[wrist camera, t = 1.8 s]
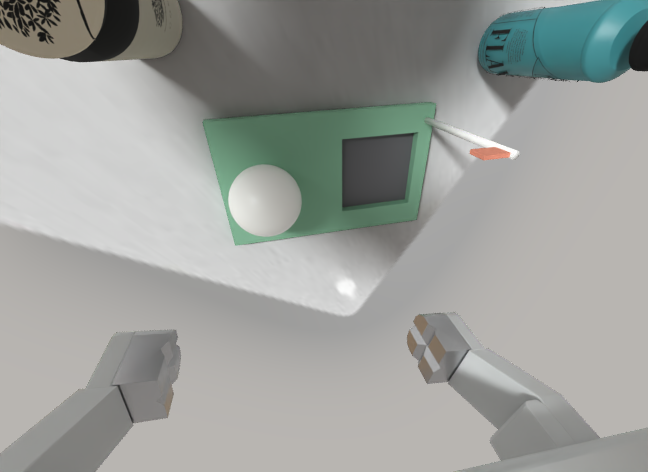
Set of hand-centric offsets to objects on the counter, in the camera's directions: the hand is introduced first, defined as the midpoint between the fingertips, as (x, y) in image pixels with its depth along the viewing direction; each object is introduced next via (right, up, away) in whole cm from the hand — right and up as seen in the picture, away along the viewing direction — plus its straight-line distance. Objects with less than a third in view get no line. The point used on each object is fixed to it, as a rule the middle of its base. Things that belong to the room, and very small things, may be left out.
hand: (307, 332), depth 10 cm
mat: (+1, +12, +32) cm, 34 cm away
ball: (-7, +8, +26) cm, 28 cm away
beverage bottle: (+22, +28, +27) cm, 45 cm away
